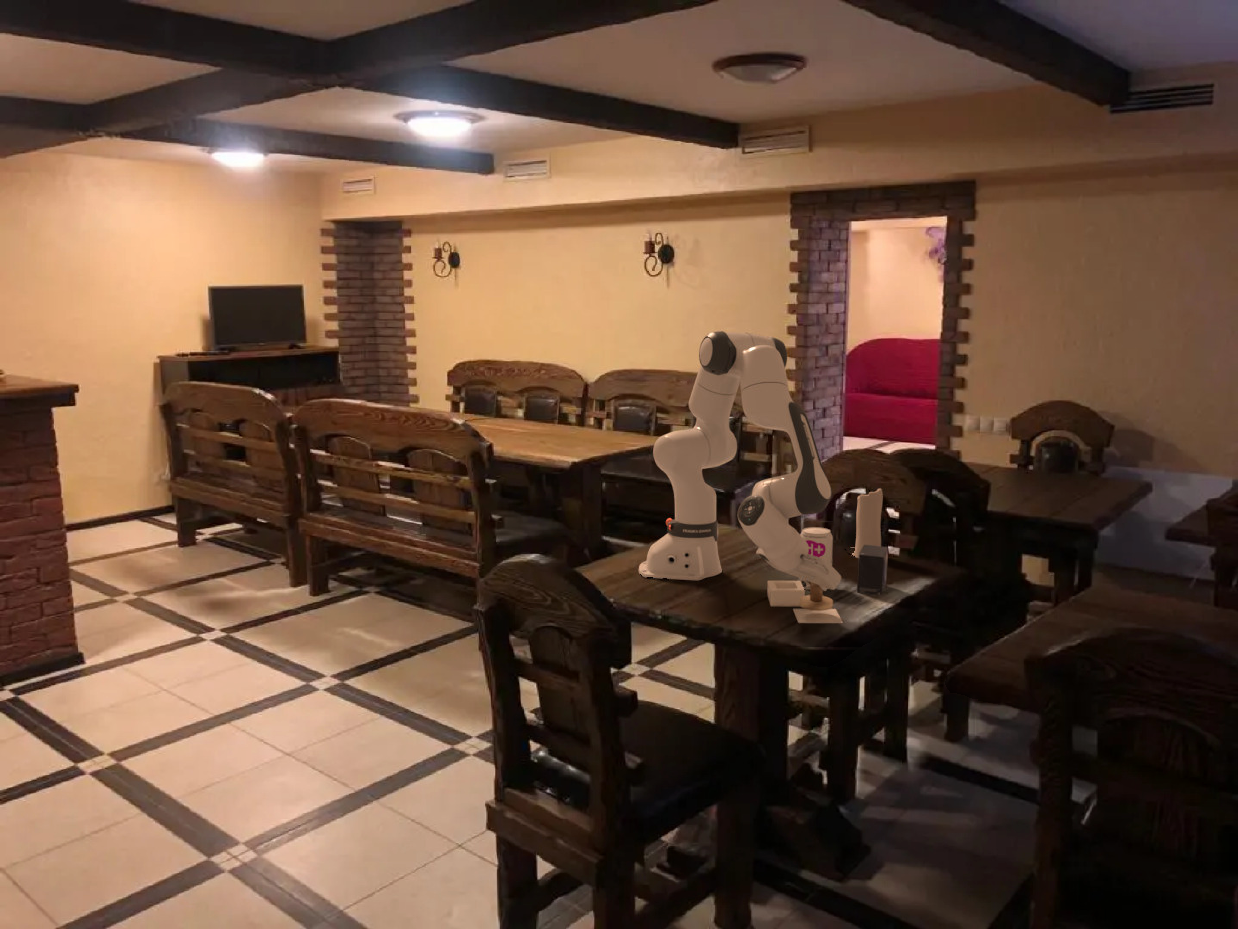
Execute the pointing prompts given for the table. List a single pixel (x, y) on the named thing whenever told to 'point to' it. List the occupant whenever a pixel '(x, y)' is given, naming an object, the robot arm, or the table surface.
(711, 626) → the table surface
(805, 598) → the wooden peg stand
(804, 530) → the supplement can
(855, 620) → the table surface
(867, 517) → the beige wavy upright slab
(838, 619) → the mat
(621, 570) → the table surface
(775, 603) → the dish
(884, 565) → the small box
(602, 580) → the table surface
